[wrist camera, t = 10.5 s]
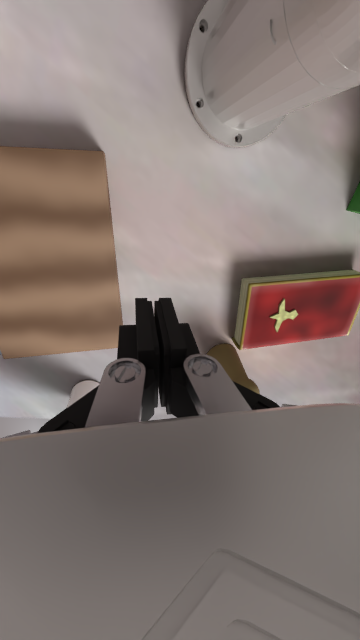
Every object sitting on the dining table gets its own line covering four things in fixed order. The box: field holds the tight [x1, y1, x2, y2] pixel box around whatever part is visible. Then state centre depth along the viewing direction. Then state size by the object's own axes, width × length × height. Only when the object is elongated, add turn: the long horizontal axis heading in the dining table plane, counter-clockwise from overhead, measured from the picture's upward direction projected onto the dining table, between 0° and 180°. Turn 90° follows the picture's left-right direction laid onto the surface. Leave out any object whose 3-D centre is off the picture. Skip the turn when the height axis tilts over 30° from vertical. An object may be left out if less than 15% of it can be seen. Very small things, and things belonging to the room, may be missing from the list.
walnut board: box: [0, 146, 123, 359], centre depth 30 cm, size 24×16×3 cm, turn 178°
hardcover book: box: [232, 270, 360, 350], centre depth 41 cm, size 12×21×4 cm, turn 90°
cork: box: [207, 343, 260, 394], centre depth 41 cm, size 6×6×11 cm
